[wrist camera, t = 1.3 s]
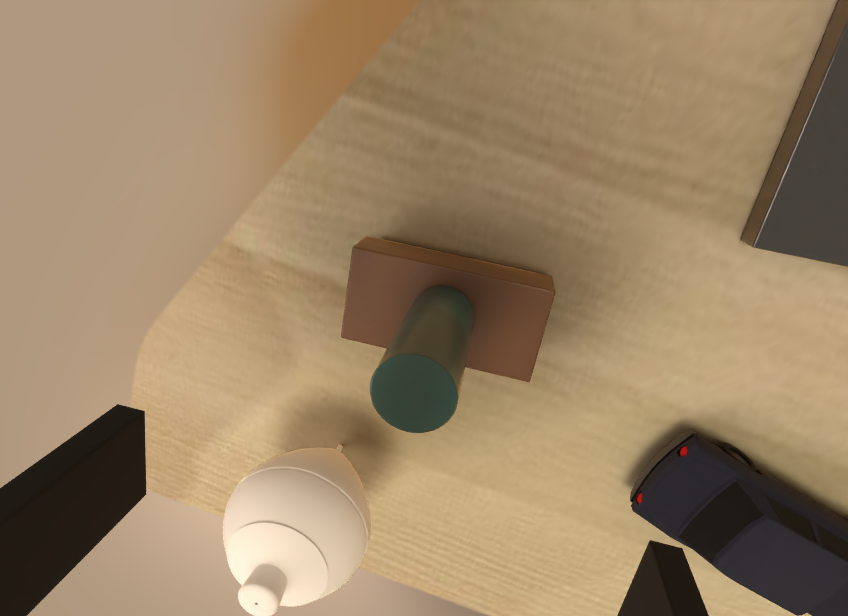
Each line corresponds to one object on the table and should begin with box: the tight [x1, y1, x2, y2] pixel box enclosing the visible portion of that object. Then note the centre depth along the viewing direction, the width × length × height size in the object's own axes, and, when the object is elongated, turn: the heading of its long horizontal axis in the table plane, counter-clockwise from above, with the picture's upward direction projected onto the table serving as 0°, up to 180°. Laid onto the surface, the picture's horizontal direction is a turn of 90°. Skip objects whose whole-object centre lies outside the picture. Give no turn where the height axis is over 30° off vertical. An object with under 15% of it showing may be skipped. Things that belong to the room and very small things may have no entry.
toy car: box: [630, 429, 848, 616], centre depth 29 cm, size 6×15×5 cm, turn 62°
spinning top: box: [223, 445, 371, 616], centre depth 29 cm, size 8×8×12 cm
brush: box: [341, 236, 555, 433], centre depth 24 cm, size 10×5×12 cm, turn 80°
